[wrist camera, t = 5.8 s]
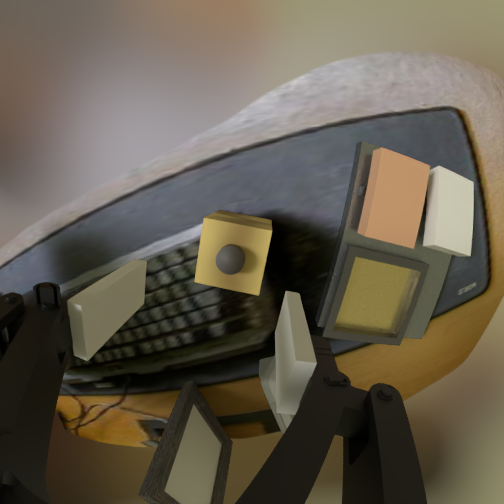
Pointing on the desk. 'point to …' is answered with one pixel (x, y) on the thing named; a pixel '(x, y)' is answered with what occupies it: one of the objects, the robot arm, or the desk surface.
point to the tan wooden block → (233, 251)
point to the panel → (378, 276)
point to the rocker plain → (449, 212)
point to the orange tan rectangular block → (394, 198)
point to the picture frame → (189, 455)
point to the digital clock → (272, 390)
